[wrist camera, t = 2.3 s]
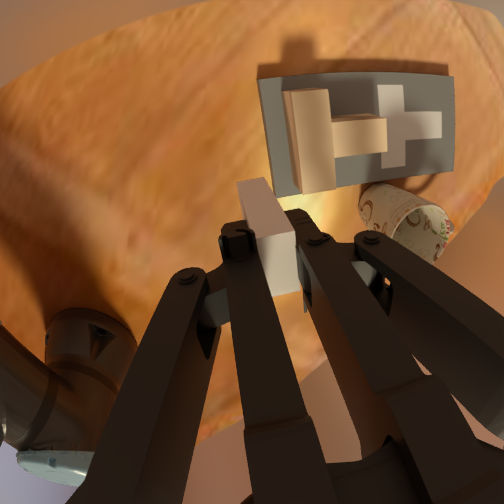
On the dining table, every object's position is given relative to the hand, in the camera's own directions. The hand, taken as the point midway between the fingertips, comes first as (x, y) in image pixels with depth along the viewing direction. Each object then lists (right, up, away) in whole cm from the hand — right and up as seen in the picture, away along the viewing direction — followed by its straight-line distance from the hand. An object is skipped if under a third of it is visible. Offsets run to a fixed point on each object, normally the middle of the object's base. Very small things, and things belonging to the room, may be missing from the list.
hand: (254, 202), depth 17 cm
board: (+14, +12, +16) cm, 24 cm away
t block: (+8, +10, +14) cm, 19 cm away
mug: (+18, +4, +21) cm, 28 cm away
